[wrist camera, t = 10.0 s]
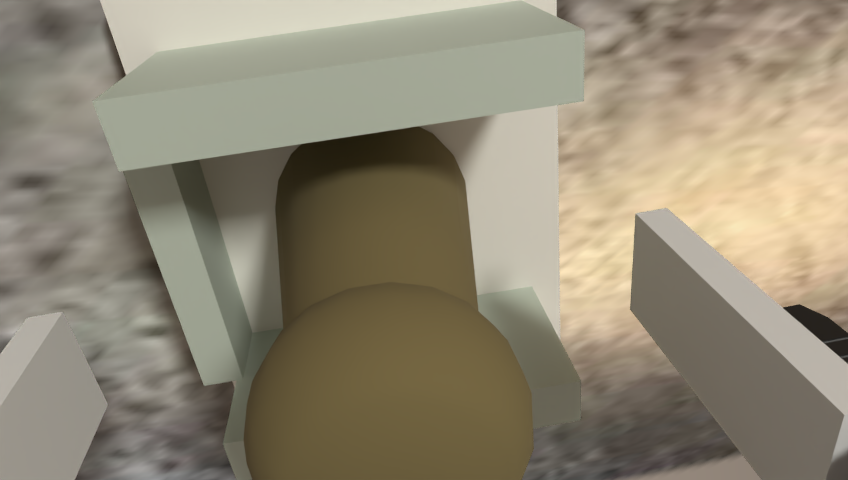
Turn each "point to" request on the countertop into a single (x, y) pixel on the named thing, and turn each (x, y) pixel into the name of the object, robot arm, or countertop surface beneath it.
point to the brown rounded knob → (383, 326)
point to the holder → (331, 119)
